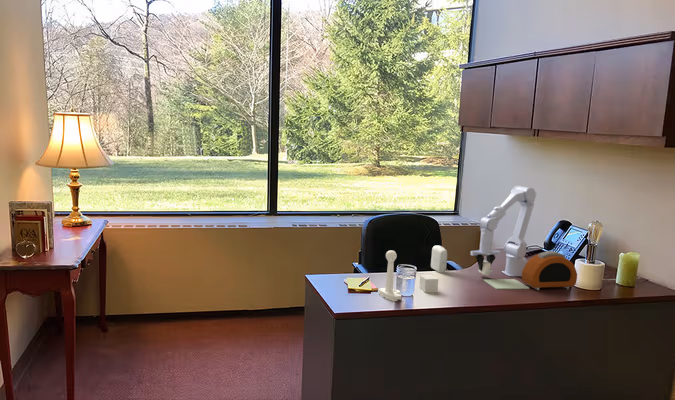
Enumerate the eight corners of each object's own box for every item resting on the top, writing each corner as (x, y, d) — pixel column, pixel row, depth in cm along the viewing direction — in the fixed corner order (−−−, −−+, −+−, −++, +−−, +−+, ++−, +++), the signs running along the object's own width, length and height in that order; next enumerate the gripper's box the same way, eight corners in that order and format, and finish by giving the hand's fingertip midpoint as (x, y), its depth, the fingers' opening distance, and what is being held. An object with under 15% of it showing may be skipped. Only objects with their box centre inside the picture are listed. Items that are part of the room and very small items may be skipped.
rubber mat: (514, 280, 249) (514, 279, 249) (529, 288, 236) (529, 287, 236) (483, 280, 246) (483, 279, 246) (496, 289, 234) (496, 288, 233)
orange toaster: (531, 290, 234) (535, 254, 231) (520, 284, 242) (523, 249, 240) (576, 289, 239) (580, 254, 237) (563, 283, 248) (567, 249, 245)
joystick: (376, 294, 220) (379, 247, 217) (390, 291, 224) (393, 246, 221) (392, 302, 210) (395, 254, 207) (407, 299, 214) (410, 252, 212)
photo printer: (447, 273, 256) (448, 248, 254) (439, 273, 255) (441, 248, 253) (437, 267, 266) (438, 243, 264) (429, 267, 265) (431, 243, 263)
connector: (483, 270, 255) (484, 259, 254) (493, 276, 245) (494, 265, 244) (477, 270, 254) (478, 259, 253) (486, 276, 244) (487, 265, 243)
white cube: (424, 292, 225) (425, 279, 224) (419, 288, 230) (420, 275, 230) (437, 292, 226) (438, 278, 225) (431, 287, 232) (432, 274, 231)
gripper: (475, 244, 243) (473, 272, 245) (504, 244, 246) (502, 272, 248) (469, 240, 250) (467, 268, 252) (497, 240, 253) (495, 267, 255)
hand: (484, 269), depth 250 cm, fingers closed on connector, 3 cm apart
